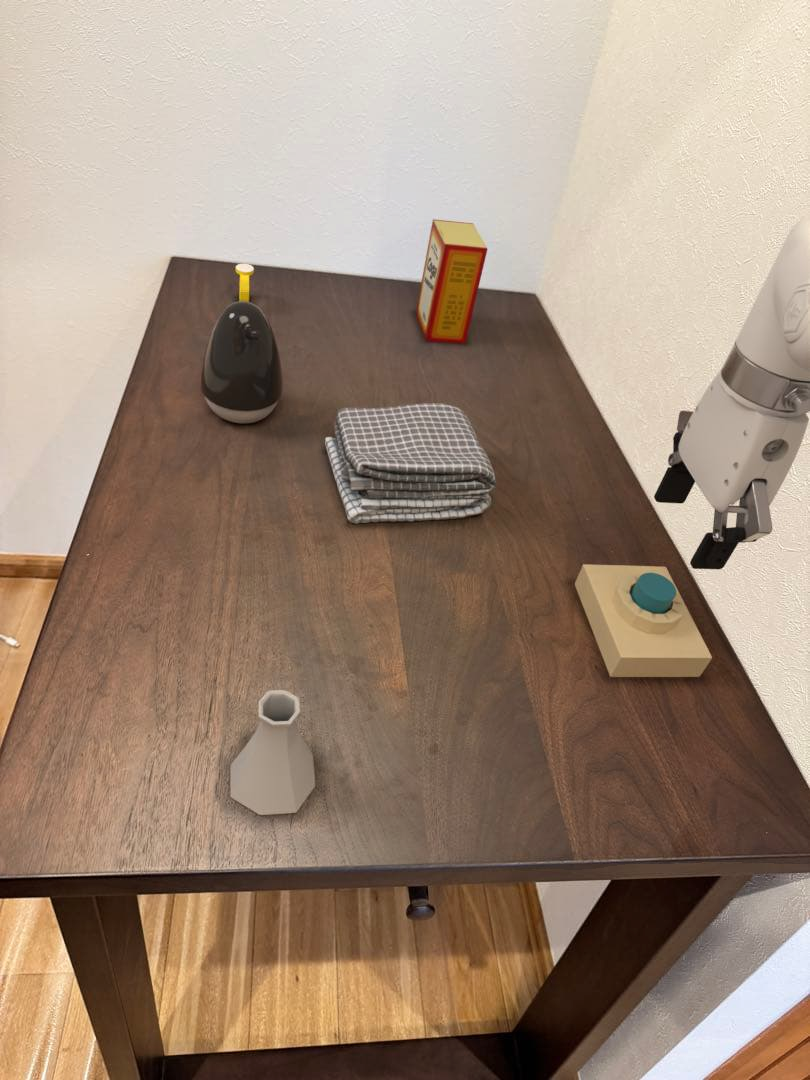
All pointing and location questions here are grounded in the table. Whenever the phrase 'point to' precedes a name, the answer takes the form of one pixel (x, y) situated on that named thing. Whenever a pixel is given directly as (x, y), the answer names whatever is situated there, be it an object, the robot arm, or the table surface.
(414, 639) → the table surface
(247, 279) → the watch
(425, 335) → the baking soda box
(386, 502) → the towel
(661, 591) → the teal disc
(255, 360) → the black egg shape
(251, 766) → the flask
